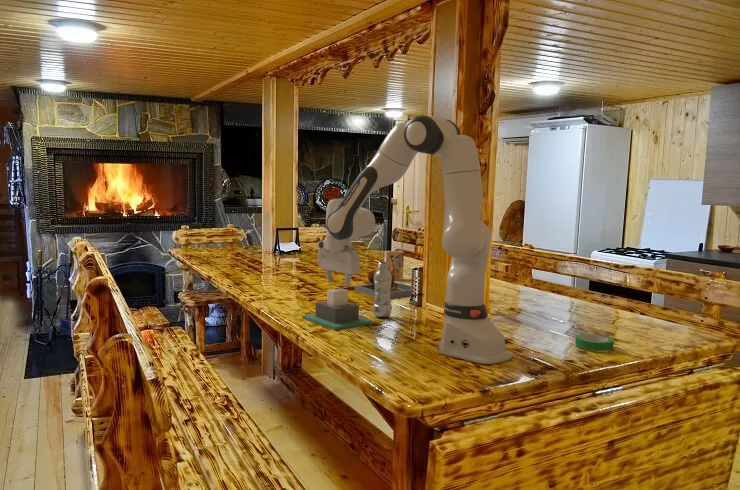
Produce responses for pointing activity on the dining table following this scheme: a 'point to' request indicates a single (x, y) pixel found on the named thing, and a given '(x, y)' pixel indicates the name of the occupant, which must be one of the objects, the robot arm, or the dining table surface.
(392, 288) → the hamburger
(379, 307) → the plastic bottle
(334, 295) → the plug
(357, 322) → the header board
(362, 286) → the burger tray
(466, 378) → the dining table surface
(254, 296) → the dining table surface
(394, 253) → the candy box
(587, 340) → the tape roll
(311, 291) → the dining table surface
